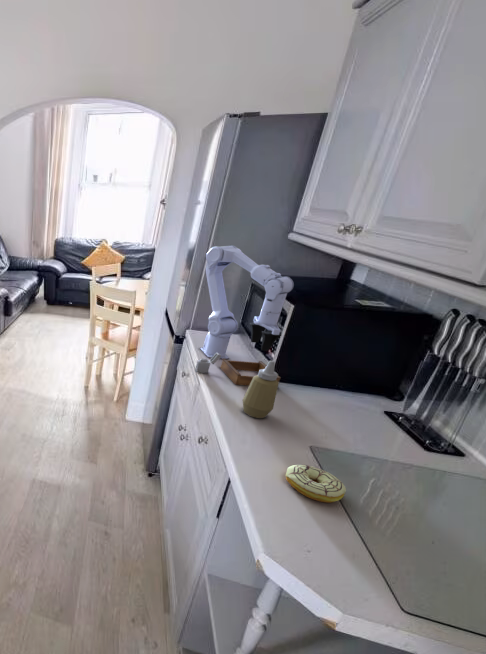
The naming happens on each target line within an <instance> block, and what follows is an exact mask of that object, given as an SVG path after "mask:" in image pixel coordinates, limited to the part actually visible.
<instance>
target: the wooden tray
mask: <svg viewBox="0 0 486 654" xmlns="http://www.w3.org/2000/svg"><path fill="white" fill-rule="evenodd" d="M221 360H222V361H221V363H220V367H219V368H220V370H221V371H222V372H223V373H224V374H225V375H226V376H227V377H228V379H230V381H231V382H232V383H233V384H234V385H235V386H245V387H247V386H248V387H249V385H250V383H251V381H252V379H253V377H254V376H255V375H244V374H243V375H242V374H241V373H240V371H245V372H246V371H247V372H256V373H257V374H258V373H259V370H261V369H265V368H266V366H267V365H268V364H267V365H266V363H264V362H263V361H262V360H258V361H241V360H231V359H230V360H229V359H224V358H221ZM276 380H277V381H278V382H279V383H280V380H281V376H279V375H278V376H277V379H276Z"/></svg>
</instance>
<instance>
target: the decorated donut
mask: <svg viewBox="0 0 486 654" xmlns="http://www.w3.org/2000/svg"><path fill="white" fill-rule="evenodd" d="M285 480H286V482H287V483H288V484H289V485H290V486H291V488H293V489H294V490H296V491H297V492H298V493H299V494H302V495H303V496H305V497H306V498H309V499H311V500H314V501H317V502H321V503H335V502H338V501H340V500H342V499H343V498H344V496H345V494H346V491H347V488H346V486H345V484H344V483H343V482H342V481H341V480H340V479H339V478H338V477H336V475H334V474H332V473H330V472H328V471H326V470H324V469H321V468H318V467H315V466H312V465H307V464H294V465H290V466H289V467H288V466H287V469H286V473H285Z"/></svg>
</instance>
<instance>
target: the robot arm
mask: <svg viewBox="0 0 486 654" xmlns="http://www.w3.org/2000/svg"><path fill="white" fill-rule="evenodd" d="M205 259H206V266H205V275H206V281H207V288H208V293H209V298H210V305H211V310H212V313H211V314H210V315H209V317H208V324H207V331H208V333H207V334H206V335H205V339H204V343H203V345H202V347H200V350H201V351H202V352H203V353H204V355H205V356H206V357H207V358H210V359H211V358H212V357H213V356H214V355H215V354H216V353H219V354H220V355H221V357H220V358H219V359H223V358H224V359H226V360H229V359H230V357H229V356H228V355H227V354H226V353H227V351H228V347H229V343H230V339H231V337H232V336H233V333H235V332H236V331H238V326H239V323H238V321H237V319H236V318H235V314H234V313H233V312H232V311H230V310H229V304H228V299H227V292H226V288H225V282H224V277H223V276H224V275H223V271H224V270H225V268H227V267H228V266H229V265H230V264H232V263H233V264H236V265H237V266H239V267H240V268H243V270H245V271H247V272H248V273H250V278H251V279H253V280H254V281H255V282H257V283H258V284H260V285H261V286H262V287H264V291H265V295H264V300H263V303H262V307H261V310H260V313H259V316H257V315H255V316H254V317H253V320H252V321H253V322H249V327H250V332H251V333H250V335H251V336H250V341H251V343H259V341H260V340H261V338H262V341H261V345H260V350H261V351H263V352H264V351H265V352H268V351H269V350H270V348H271V347H272V346H273V344H275V342H276V341H277V340H279V338H281V337H282V334H281V332H282V331H281V329H280V328H279V325H278V321H279V319H280V316H281V312H282V311H283V307H284V304H285V301H286V298H287V295H288V293H290V292H292V290H293V289H294V286H295V284H294V281H293V279H292V278H291V277H290V276H282V274H281V273H280V272H276V271H275V270H274V269H271V265H269V264H258V263H257V262H255V261H254V260H253V259H252V258H250V257H249V256H248V255H247V254H245V253H243V251H242V250H241V248H238V247H237V246H236V245H231V244H230V245H223V246H221V245H219V246H217V245H215V246H212V247H211V248H210V249H209V250H208V251H207V253H206V254H205ZM280 336H281V337H280Z"/></svg>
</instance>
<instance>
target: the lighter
mask: <svg viewBox="0 0 486 654" xmlns="http://www.w3.org/2000/svg"><path fill="white" fill-rule="evenodd" d="M220 357H221V355H220V354H219V353H216V354H215V355H214V356H213V357H212V358H210V359H208V358H201V359H197V360H196V365H195V368H194V371H195V373H198V374H199V373H201V374H208V373H209V369H210V366H211V364H212V365H215V364H216V363H217V362H218V361H219V359H221V358H220Z"/></svg>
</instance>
